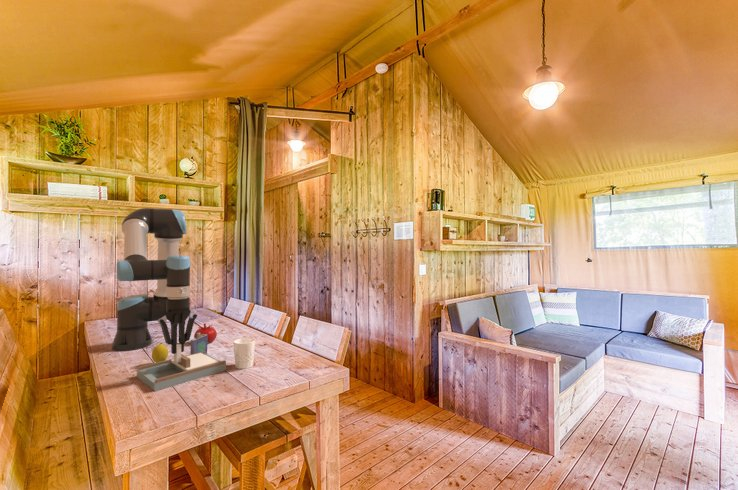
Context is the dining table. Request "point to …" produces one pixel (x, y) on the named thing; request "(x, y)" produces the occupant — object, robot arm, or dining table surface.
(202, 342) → the blue-grey curved piece
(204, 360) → the slide cover
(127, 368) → the dining table surface
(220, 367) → the sliding lid box
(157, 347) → the lemon
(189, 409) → the dining table surface
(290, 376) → the dining table surface
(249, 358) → the white cup
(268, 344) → the dining table surface
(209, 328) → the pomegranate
